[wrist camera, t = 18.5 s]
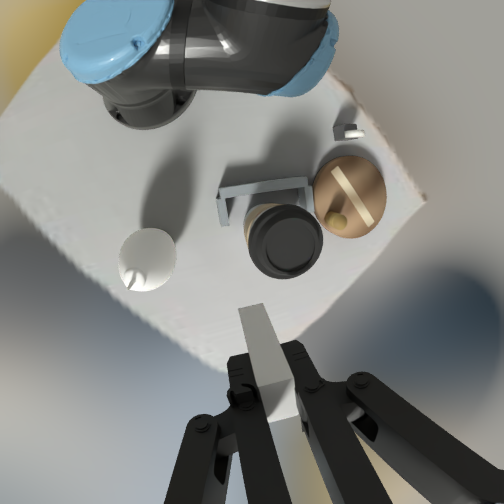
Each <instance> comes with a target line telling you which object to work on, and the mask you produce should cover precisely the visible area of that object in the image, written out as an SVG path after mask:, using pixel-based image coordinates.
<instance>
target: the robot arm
mask: <svg viewBox="0 0 504 504" xmlns="http://www.w3.org/2000/svg"><path fill="white" fill-rule="evenodd" d="M330 4H331V0H86V1H85V2H84V3H82V4H81V5H80V6H79V7H78V8H77V9H76V10H75V12H74V13H73V14H72V16H71V17H70V19H69V20H68V22H67V24H66V26H65V28H64V30H63V33H62V36H61V40H60V56H61V59H62V62H63V64H64V65H65V67H66V68H67V69H68V70H69V71H70V72H71V73H72V74H73V75H74V77H75V79H76V80H78V81H80V82H83V83H85V84H86V85H88V86H89V87H91V88H92V89H94V90H95V91H97V92H98V93H99V94H101V95H102V96H103V101H104V104H105V107H106V109H107V110H108V112H109V113H110V115H111V116H112V117H113V118H114V119H115V120H117V121H118V122H120V123H121V124H123V125H125V126H127V127H130V128H133V129H139V130H148V129H155V128H158V127H161V126H164V125H166V124H168V123H170V122H172V121H173V120H175V119H176V118H178V117H179V116H180V115H181V114H182V113H183V112H184V111H185V110H186V109H187V108H188V106H189V105H190V103H191V102H192V100H193V98H194V96H195V93H196V90H215V91H231V92H243V93H253V94H257V95H260V96H265V97H266V96H273V95H274V96H284V97H297V96H301V95H303V94H305V93H307V92H309V91H310V90H311V89H312V88H314V87H315V86H316V85H317V84H318V82H319V81H320V80H321V79H322V77H323V76H324V74H325V73H326V71H327V69H328V68H329V66H330V64H331V62H332V59H333V57H334V54H335V51H336V49H335V48H334V45H335V43H336V42H337V41H338V36H339V27H338V21H337V20H336V18H335V16H334V15H333V14H332V13H331V12H330V11H329V10H328V9H329V6H330ZM238 310H239V314H240V318H241V323H242V327H243V331H244V335H245V339H246V343H247V347H248V352H249V353H244V354H240V355H235V356H231V357H230V358H229V360H228V362H227V368H228V376H229V382H230V388H229V390H228V391H227V398H228V400H229V403H230V406H229V408H228V409H227V410H226V411H224V412H223V413H221V414H219V415H216V416H214V417H213V416H211V415H208V414H201V415H197V416H195V417H193V418H192V419H191V420H190V421H189V422H188V424H187V427H186V430H185V433H184V437H183V440H182V443H181V447H180V450H179V454H178V457H177V460H176V464H175V467H174V470H173V474H172V477H171V481H170V484H169V488H168V491H167V494H166V498H165V501H164V504H225V501H226V494H227V488H228V481H229V475H230V468H231V462H232V455H233V453H235V452H237V451H238V452H239V457H240V463H241V468H242V473H243V479H244V484H245V489H246V495H247V499H248V504H292V502H291V499H290V495H289V492H288V489H287V486H286V482H285V479H284V476H283V473H282V469H281V466H280V462H279V459H278V455H277V452H276V449H275V445H274V442H273V438H272V435H271V431H270V428H269V424H268V423H269V422H274V421H277V420H282V419H285V418H288V417H293V416H296V415H298V412H299V414H300V417H301V424H302V431H304V432H305V434H306V437H307V439H308V442H309V444H310V447H311V450H312V452H313V454H314V457H315V460H316V462H317V465H318V467H319V470H320V472H321V475H322V478H323V480H324V482H325V485H326V488H327V490H328V493H329V495H330V498H331V500H332V503H333V504H393V503H392V501H391V499H390V498H389V496H388V494H387V492H386V490H385V488H384V487H383V484H382V483H381V481H380V479H379V477H378V475H377V473H376V471H375V470H374V468H373V466H372V464H371V462H370V460H369V458H368V457H367V455H366V453H365V451H364V449H363V447H362V446H361V444H360V442H359V440H358V438H357V436H356V434H357V435H358V436H359V437H360V438H361V439H362V440H364V441H365V442H366V444H368V445H369V446H370V447H371V448H372V449H373V450H374V451H375V452H376V453H377V454H378V455H379V456H380V457H381V458H382V459H383V460H384V461H385V462H386V463H387V464H388V465H389V466H390V467H391V468H393V469H394V470H395V471H396V472H397V473H398V474H399V475H400V476H401V477H402V478H403V479H404V480H405V481H407V482H408V483H409V484H410V485H411V486H412V487H413V488H415V489H416V490H417V491H418V492H419V493H420V494H421V495H422V496H423V497H425V498H426V499H427V500H428V501H429V502H430V503H431V504H504V470H500V469H497V468H496V467H495V466H493V465H492V464H490V463H489V462H488V461H486V460H485V459H483V458H482V457H481V456H479V455H478V454H477V453H475V452H474V451H472V450H471V449H470V448H468V447H467V446H466V445H464V444H463V443H461V442H460V441H459V440H457V439H456V438H454V437H453V436H452V435H451V434H449V433H448V432H447V431H445V430H444V429H443V428H441V427H440V426H438V425H437V424H436V423H435V422H433V421H432V420H431V419H429V418H428V417H427V416H425V415H424V414H422V413H421V412H420V411H419V410H417V409H416V408H415V407H414V406H412V405H411V404H410V403H408V402H407V401H406V400H404V399H403V398H402V397H400V396H399V395H398V394H397V393H395V392H394V391H393V390H391V389H390V388H389V387H388V386H386V385H385V384H384V383H382V382H381V381H380V380H379V379H377V378H376V377H375V376H373V375H372V374H370V373H368V372H357V373H354V374H352V375H351V376H350V377H349V378H348V379H347V381H344V382H329V381H326V380H325V379H323V378H321V377H320V375H319V374H318V372H317V370H316V368H315V367H314V364H313V362H312V361H311V359H310V357H309V355H308V353H307V352H306V349H305V348H304V345H303V344H302V343H300V342H299V341H297V340H293V341H290V342H286V343H282V344H280V343H279V341H278V338H277V336H276V334H275V331H274V329H273V326H272V324H271V322H270V319H269V317H268V314H267V312H266V310H265V307H264V305H263V303H261V304H256V305H252V306H248V307H244V308H239V309H238ZM354 432H355V433H356V434H355V433H354Z"/></svg>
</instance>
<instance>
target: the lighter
mask: <svg viewBox="0 0 504 504" xmlns="http://www.w3.org/2000/svg"><path fill="white" fill-rule="evenodd" d="M333 132H334V139H335V141H346V140H352V139H357V138H361V137H365V133H364V130H357V125H356V124H342V125H339V126H336V127H333Z"/></svg>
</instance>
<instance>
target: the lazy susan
mask: <svg viewBox="0 0 504 504" xmlns="http://www.w3.org/2000/svg"><path fill="white" fill-rule="evenodd" d="M312 192H313V201H314V211H315V212H314V213H315V215H316V217H317V219H318V220H319V222H320V223H321V224H322V226H323V227H324V228H326V229H327V230H328V231H330V232H331V233H333V234H335V235H338V236H340V237H343V238H358V237H361V236H364V235H366V234H367V233H369V232H370V231H371V230H373V229H374V228H375V227H376V225H377V224H378V223H379V221H380V220H381V218H382V216H383V213H384V210H385V206H386V198H387V197H386V187H385V183H384V180H383V178H382V176H381V174H380V172H379V171H378V169H377V168H376V167H375V166H374V165H373V164H372V163H371V162H369V161H368V160H366V159H364V158H361V157H358V156H343V157H338V158H335V159H333V160H331V161H329V162H328V163H326V164H325V165H324V166H323V167H322V168H321V170H320V171H319V172H318V174H317V176H316V178H315V180H314V183H313V187H312Z"/></svg>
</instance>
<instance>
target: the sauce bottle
mask: <svg viewBox="0 0 504 504" xmlns="http://www.w3.org/2000/svg"><path fill="white" fill-rule="evenodd" d="M175 264H176V248H175V244H174V242H173V240H172V238H171V237H170V236H169V234H168V233H166V232H165V231H163V230H160V229H157V228H145V229H141V230H138V231H136V232H135V233H133V234H131V235H130V236H129V237H128V238H127V239H126V241H125V242H124V244H123V246H122V248H121V251H120V254H119V272H120V276H121V278H122V280H123V282H124V284H125V285H126V286H127V290H130V289H131V290H135V291H149V290H153V289H156V288H157V287H159V286H161V285H163V284H164V283H165V282H166V281H167V280H168V279H169V277H170V276H171V274H172V273H173V270H174V268H175Z"/></svg>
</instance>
